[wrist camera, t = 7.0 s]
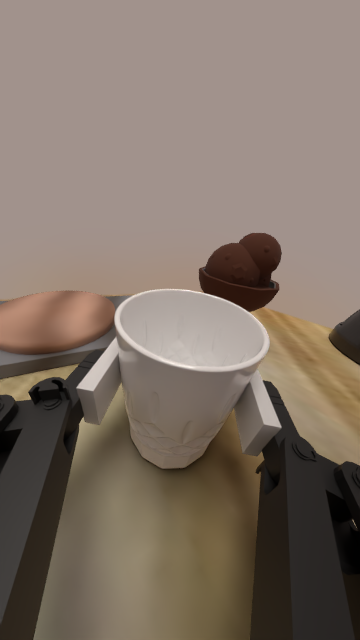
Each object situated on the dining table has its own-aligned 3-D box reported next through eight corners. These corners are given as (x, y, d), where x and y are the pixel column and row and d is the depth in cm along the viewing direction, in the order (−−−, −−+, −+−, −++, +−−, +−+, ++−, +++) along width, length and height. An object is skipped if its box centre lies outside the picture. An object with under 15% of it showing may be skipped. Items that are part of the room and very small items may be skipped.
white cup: (121, 386, 16) (116, 286, 11) (197, 375, 18) (220, 290, 13) (122, 503, 9) (109, 387, 4) (237, 461, 12) (311, 357, 7)
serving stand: (134, 302, 32) (134, 288, 31) (159, 347, 22) (161, 328, 20) (-30, 312, 22) (-42, 292, 21) (-127, 403, 12) (-163, 375, 10)
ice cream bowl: (235, 316, 33) (264, 234, 26) (267, 354, 24) (327, 242, 17) (184, 313, 31) (200, 223, 24) (197, 353, 22) (231, 225, 15)
